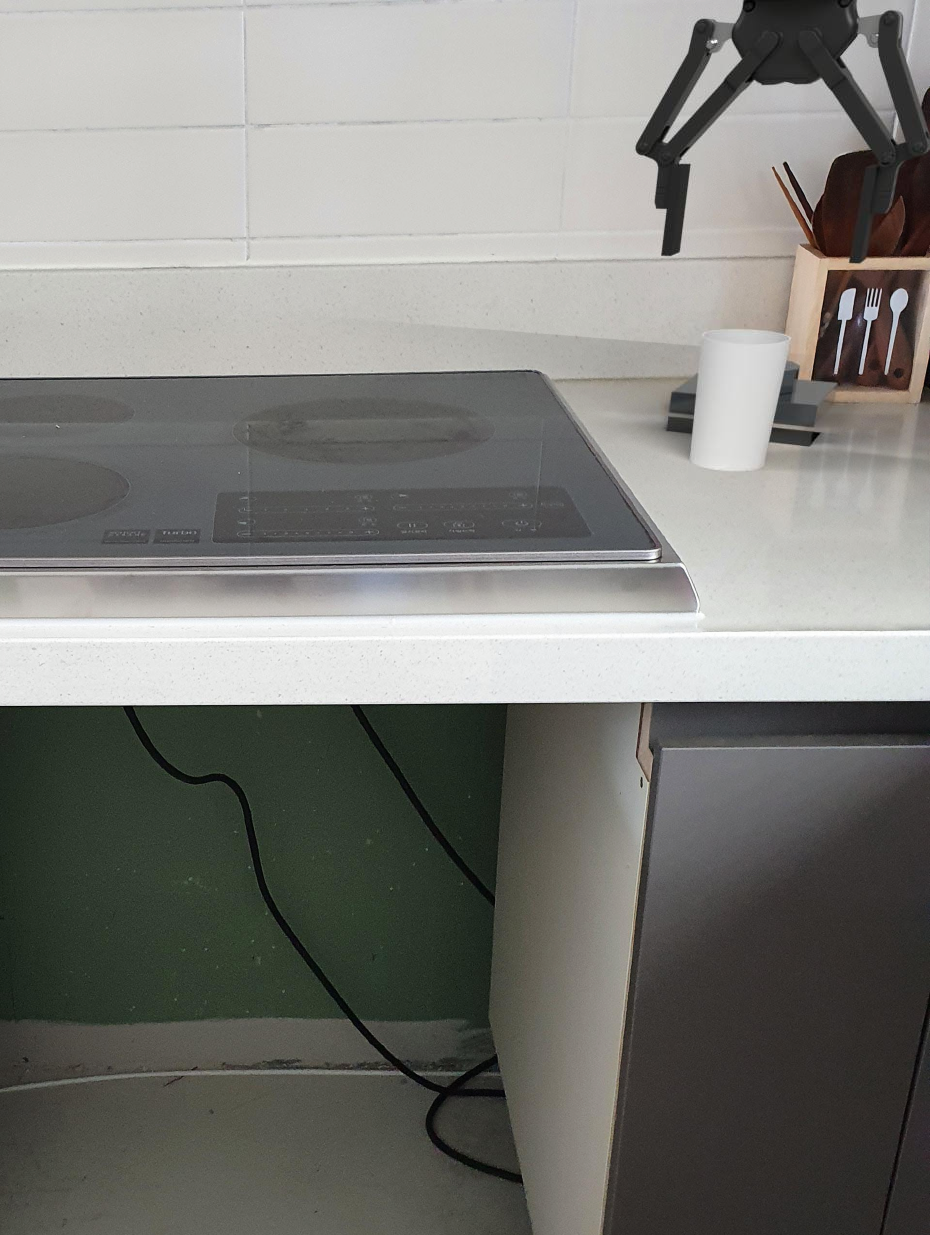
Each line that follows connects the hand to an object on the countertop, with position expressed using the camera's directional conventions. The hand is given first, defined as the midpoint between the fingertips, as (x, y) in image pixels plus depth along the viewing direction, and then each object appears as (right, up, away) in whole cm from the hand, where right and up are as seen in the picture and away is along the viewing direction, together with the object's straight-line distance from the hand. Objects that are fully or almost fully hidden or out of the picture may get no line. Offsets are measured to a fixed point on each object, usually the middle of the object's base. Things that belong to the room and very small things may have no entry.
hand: (760, 258), depth 103 cm
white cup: (0, -14, +7) cm, 16 cm away
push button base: (+6, -9, +17) cm, 21 cm away
